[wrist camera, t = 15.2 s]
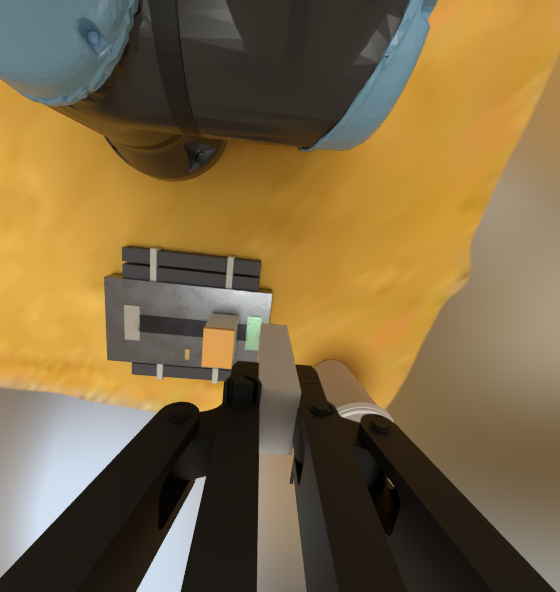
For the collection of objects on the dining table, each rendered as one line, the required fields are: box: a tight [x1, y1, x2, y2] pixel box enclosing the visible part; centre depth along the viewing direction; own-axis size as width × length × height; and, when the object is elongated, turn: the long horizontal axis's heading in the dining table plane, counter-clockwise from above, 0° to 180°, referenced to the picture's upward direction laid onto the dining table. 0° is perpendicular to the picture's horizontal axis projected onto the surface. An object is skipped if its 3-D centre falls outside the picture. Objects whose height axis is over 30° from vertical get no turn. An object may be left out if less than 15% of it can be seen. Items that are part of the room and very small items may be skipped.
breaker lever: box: [202, 313, 238, 369], centre depth 36 cm, size 5×4×6 cm
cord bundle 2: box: [132, 362, 231, 384], centre depth 42 cm, size 3×16×2 cm, turn 83°
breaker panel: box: [104, 273, 272, 370], centre depth 40 cm, size 12×22×3 cm, turn 83°
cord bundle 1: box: [122, 246, 261, 291], centre depth 38 cm, size 5×18×2 cm, turn 83°
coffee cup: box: [314, 360, 394, 422], centre depth 38 cm, size 10×10×15 cm
